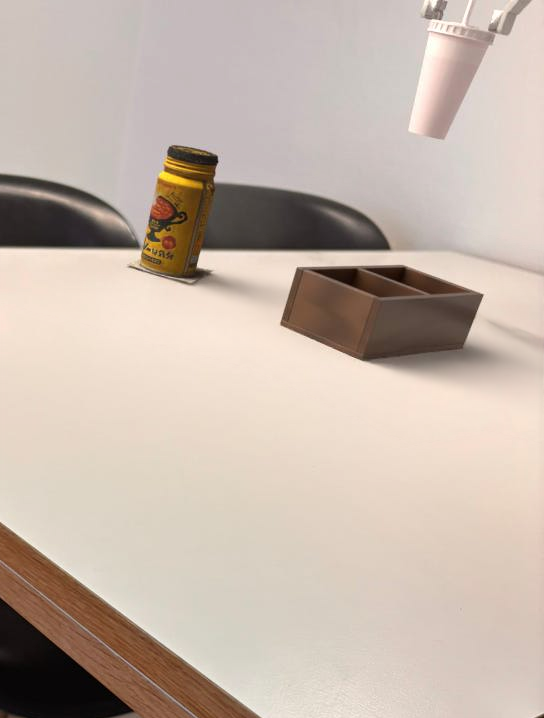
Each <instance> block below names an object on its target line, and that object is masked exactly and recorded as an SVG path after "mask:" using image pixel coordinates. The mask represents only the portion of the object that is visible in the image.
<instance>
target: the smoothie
mask: <svg viewBox="0 0 544 718" xmlns="http://www.w3.org/2000/svg"><path fill="white" fill-rule="evenodd" d="M476 1H477V0H469V1H468V3H467V6H466V9H465V13H464V16H463V17H462V18H463V19H462V21H461V23H460V22H455V21H445V20H440V21H439V20H433V19H432V20H430V21H429V23H428V28H427V29H426V31H427V32H429V33H428V38H427V43H426V47H425V51H424V57H423V61H422V64H421V65H422V66H421V71H420V74H419V79H418V84H417V88H416V92H415V96H414V103H413V107H412V111H411V116H410V119H409V125H408V130H407V131H408V132H410V133H412V134H415V135H419V136H422V137H426V138H432V139H436V140H443V141H444V140H445V139H446V137H447V135H448V133H449V131H450V129H451V127H452V125H453V122H454V120H455V118H456V116H457V114H458V112H459V110H460V108H461V106H462V103H463V102H464V99H465V97H466V95H467V93H468V91H469V88H470V87H471V85H472V82H473V80H474V78H475V76H476V74H477V72H478V70H479V67H481V66H480V65H481V63H482V61H483V59H484V57H485V55H486V52H487V50H488V49H489V46H493V45H494V40H495V37H496V33H493V32H489V31H488V30H484V29H481V28H480V27H477V26H474V25H470V24H469V21H470V19H471V16H472V12H473V11H474V10H473V9H474V7H475V4H476Z"/></svg>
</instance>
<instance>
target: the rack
mask: <svg viewBox="0 0 544 718" xmlns="http://www.w3.org/2000/svg"><path fill="white" fill-rule="evenodd" d="M293 275H294V276H293V279H292V282H291V285H290V289H289V292H288V296H287V299H286V302H285V306H284V309H283V311H282V312H283V313H282V317H281V319H280V322H279V325H280V326H282V325H283V326H282V327H284V326H285V327H284V328H287V329H289V330H291V331H294V332H296V333H298V334H300V335H302V336H305V337H308V338H309V339H312V340H314V341H317V342H319V343H321V344H324V345H326V346H328V347H330V348H332V349H335V350H337V351H340V352H342V353H344V354H347V355H349V356H351V357H353V358H356V359H357V360H361V361H366V360H373V359H375V360H376V359H384V358H391V357H399V356H406V355H407V356H408V355H416V354H423V353H424V354H425V353H432V352H440V351H449V350H456V349H463V348H464V346H465V344H466V342H467V339H468V337H469V334H470V331H471V329H472V326H473V323H474V321H475V319H476V316H477V313H478V311H479V309H480V306H481V303H482V301H483V298H484V296H485V294H484V293H481V292H479V291H476V290H474V289H471V288H467V287H465V286H462V285H459V284H457V283H454V282H451V281H449V280H446V279H443V278H440V277H438V276H435V275H432V274H428V273H427V272H424V271H421V270H418V269H416V268H412V267H409V266H407V265H404V264H380V265H379V264H377V265H336V266H335V265H333V266H332V265H331V266H297V267H296V269H295V272H294V274H293Z"/></svg>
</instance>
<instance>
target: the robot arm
mask: <svg viewBox="0 0 544 718" xmlns="http://www.w3.org/2000/svg"><path fill="white" fill-rule="evenodd" d="M532 1H533V0H509V1H508V3H507V4H506V5H504V7H503V9H502V10H499V9H494V10H493V11H492V15H491V21H489V24H488V27H487V31H488V32H492V33H495V34H497V35H502V36H509V35H510V34H511V32H512V30H513V27H514V24H515V21H516V19H517V16H519V15H520V14H521V13H522V12H523V11H524V10H525V9H526V7H528V5H529V4H530V3H531V2H532ZM447 5H448V1H447V0H424V2H423V5H422V7H421V11H420V18H421V19H425V20H430V21H431V20H432V19H433V20H439V21H442V19H443V17H444V12H445V10H446V9H447Z"/></svg>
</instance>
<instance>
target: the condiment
mask: <svg viewBox="0 0 544 718" xmlns="http://www.w3.org/2000/svg"><path fill="white" fill-rule="evenodd" d="M218 164H219V155H217V154H215V153H213V152H211V151H207V150H206V149H205V150H204V149H200V148H196V147H191V146H186V145H185V146H184V145H178V144H176V145H175V144H172V145H170V146H168V149H167V151H166V158H165V159H164V162H163V167H164V168H163V170H162V171H161V172H160V173H159V174H158V177H157V181H156V184H155V190H154V193H153V200H152V202H151V208H150V212H149V216H148V220H147V225H146V231H145V236H144V240H143V244H142V250H141V254H140V259H138V260H135V261H133V262H130V263H126V265H127V266H131V267H134V268H136V269H140V270H141V271H144V272H148V273H152V274H155V275H158V276H162V277H165V278H169V279H173V280H179V281H182V282H186V283H188V284H192V283H194V282H197V281H199V280H201V279H202V278H204V277H205V276H207V275H210V274H211V273H213V272H214V270H213V269H209V268H202V267H198V262H199V259H200V255H201V251H202V247H203V243H204V238H205V234H206V229H207V226H208V221H209V217H210V213H211V210H212V209H211V208H212V206H213V202H214V197H215V193H216V185H215V177H216V175H217V173H216V169H217V166H218Z"/></svg>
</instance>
